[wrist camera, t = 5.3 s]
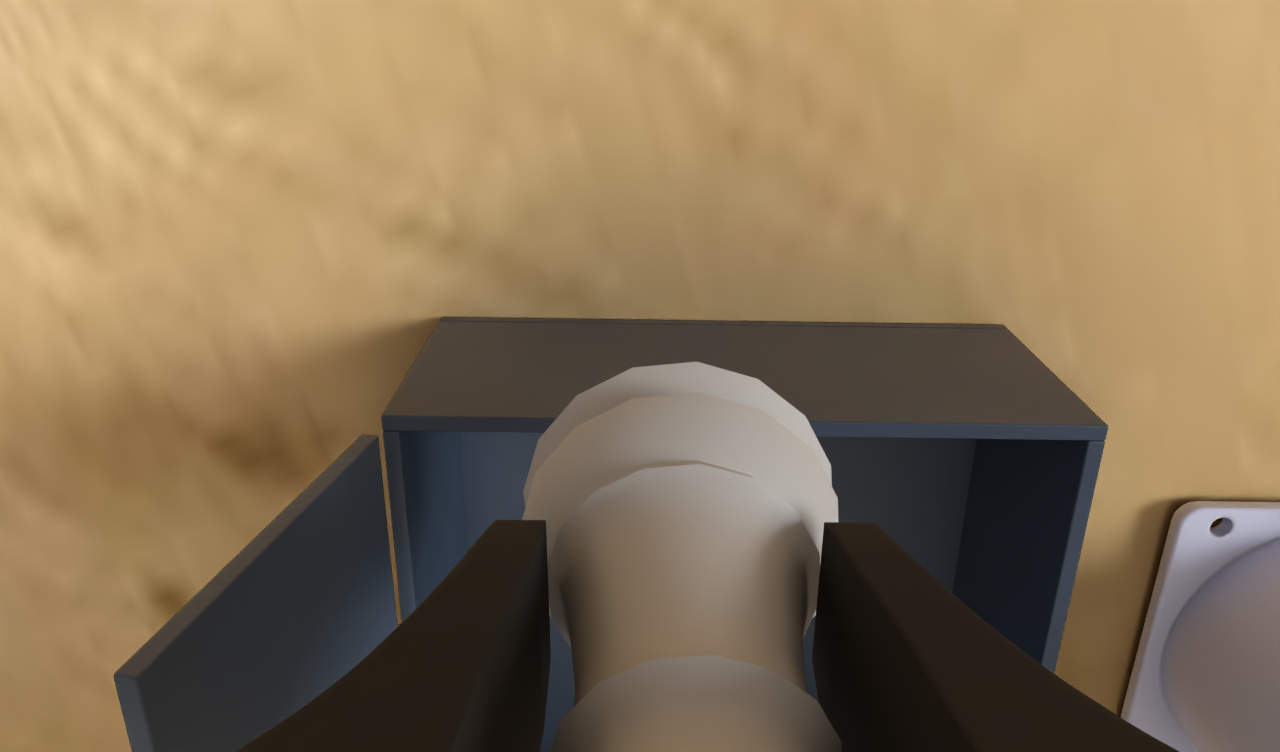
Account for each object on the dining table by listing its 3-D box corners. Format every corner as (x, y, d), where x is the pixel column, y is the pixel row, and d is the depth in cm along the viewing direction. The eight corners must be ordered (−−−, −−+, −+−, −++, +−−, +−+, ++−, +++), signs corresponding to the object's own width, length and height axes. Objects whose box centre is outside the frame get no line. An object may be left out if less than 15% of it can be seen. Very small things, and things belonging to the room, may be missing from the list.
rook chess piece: (519, 601, 15) (396, 1207, 8) (535, 334, 13) (395, 780, 6) (802, 625, 15) (952, 1242, 8) (854, 363, 13) (1108, 833, 6)
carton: (472, 751, 26) (432, 928, 21) (441, 316, 21) (380, 415, 17) (931, 758, 26) (997, 937, 21) (1003, 324, 21) (1109, 425, 17)
